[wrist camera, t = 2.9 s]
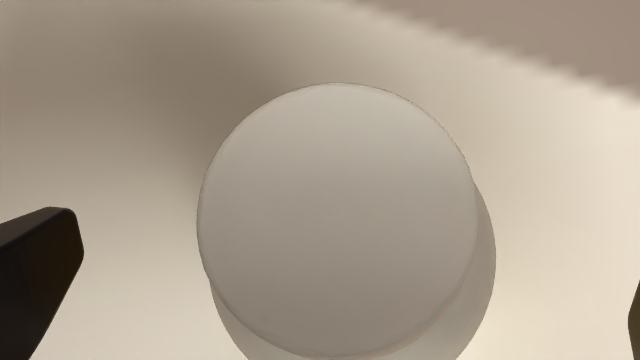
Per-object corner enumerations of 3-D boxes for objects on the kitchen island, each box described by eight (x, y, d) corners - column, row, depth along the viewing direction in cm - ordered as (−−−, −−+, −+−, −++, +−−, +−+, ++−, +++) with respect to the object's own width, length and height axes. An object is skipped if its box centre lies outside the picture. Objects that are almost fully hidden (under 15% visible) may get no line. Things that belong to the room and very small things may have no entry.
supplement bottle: (384, 430, 16) (367, 521, 7) (239, 308, 18) (69, 250, 8) (496, 274, 17) (611, 172, 8) (349, 169, 18) (302, -18, 9)
